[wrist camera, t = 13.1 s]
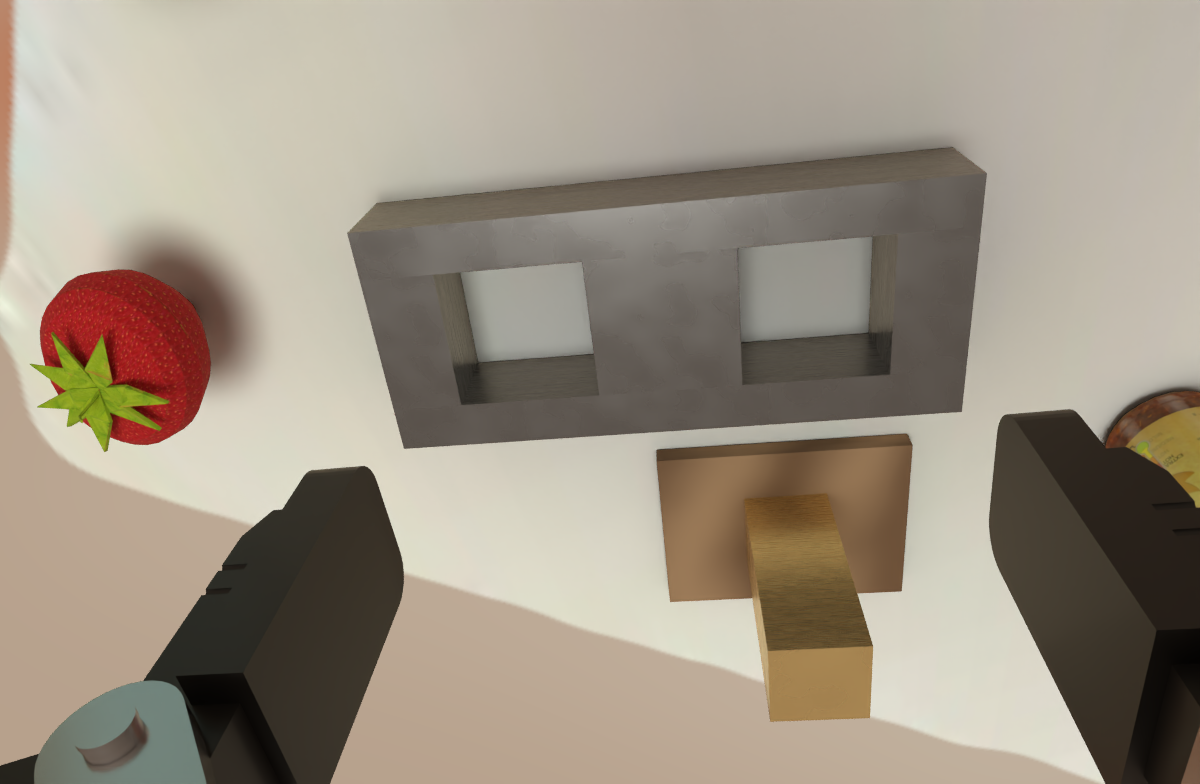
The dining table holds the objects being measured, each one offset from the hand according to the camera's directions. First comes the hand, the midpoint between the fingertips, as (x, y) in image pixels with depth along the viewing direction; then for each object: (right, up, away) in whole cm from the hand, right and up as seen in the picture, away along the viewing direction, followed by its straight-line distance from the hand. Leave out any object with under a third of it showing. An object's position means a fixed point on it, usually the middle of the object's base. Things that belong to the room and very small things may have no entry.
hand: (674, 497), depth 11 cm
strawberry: (-20, +5, +29) cm, 35 cm away
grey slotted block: (+2, +6, +27) cm, 27 cm away
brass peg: (+8, -5, +32) cm, 33 cm away
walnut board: (+8, -5, +32) cm, 34 cm away
